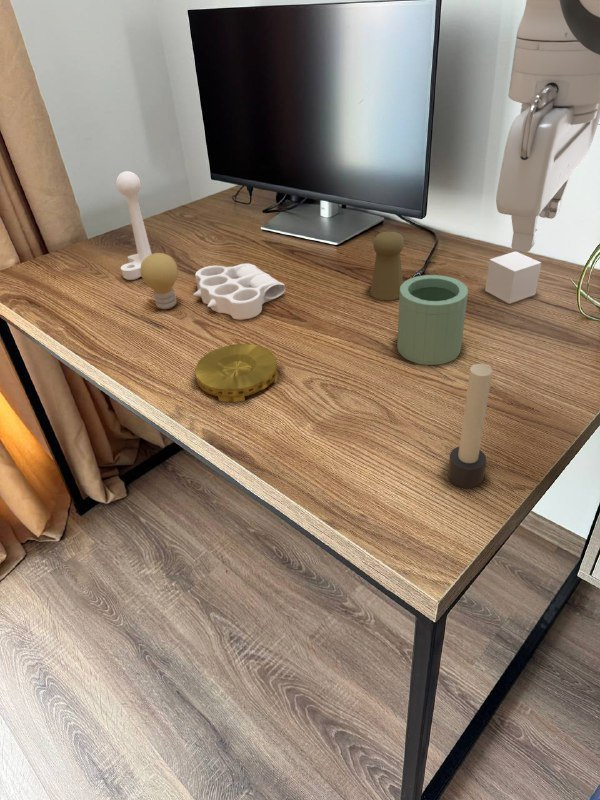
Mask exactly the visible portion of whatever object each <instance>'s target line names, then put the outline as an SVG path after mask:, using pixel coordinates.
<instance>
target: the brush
mask: <svg viewBox="0 0 600 800" xmlns="http://www.w3.org/2000/svg"><path fill="white" fill-rule="evenodd" d="M468 374H469V375H468V380H467V381H468V382H467V389H466V397H465V403H464V409H463V410H464V411H463V418H462V425H461V432H460V440H459V445H458V446H457V447H454V448H453V449H452V450H451V451H450V453H449V460H448V468H447V476H448V479H449V481H450V483H452V484H453V485H454V486H457V487H460V488H462V489H473V488H476V487H479V486H480V485H481V484H482V483H483V481H484V475H485V471H486V466H487V465H486V464H487V456H486V454H485V453H484V451H482V450H481V445H482V437H483V432H484V426H485V421H486V420H485V419H486V414H487V408H488V403H489V402H488V401H489V396H490V389H491V384H492V378H493V368H492V367H491V366H490V365H487V364H485V363H475V364H473V365H471V366H470V368H469V373H468Z"/></svg>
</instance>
